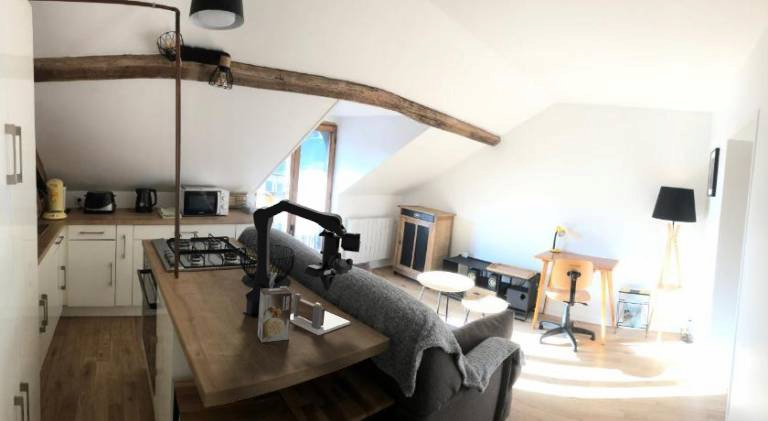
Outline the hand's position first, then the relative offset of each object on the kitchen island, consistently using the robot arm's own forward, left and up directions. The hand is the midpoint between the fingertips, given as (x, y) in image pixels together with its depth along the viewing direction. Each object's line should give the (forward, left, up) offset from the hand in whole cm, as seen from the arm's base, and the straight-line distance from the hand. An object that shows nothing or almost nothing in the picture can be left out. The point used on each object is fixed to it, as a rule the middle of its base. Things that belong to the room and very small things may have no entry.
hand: (326, 290), depth 167 cm
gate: (-6, +1, -10) cm, 12 cm away
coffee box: (-23, +1, -12) cm, 26 cm away
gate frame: (-2, +2, -12) cm, 12 cm away
